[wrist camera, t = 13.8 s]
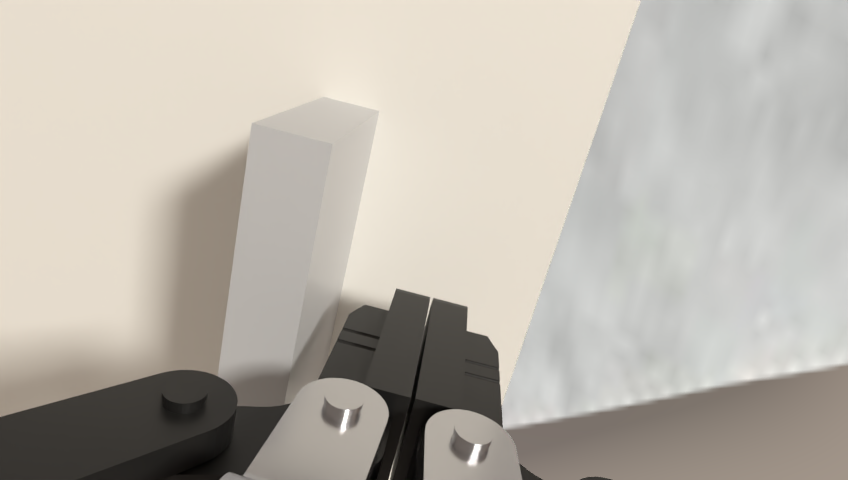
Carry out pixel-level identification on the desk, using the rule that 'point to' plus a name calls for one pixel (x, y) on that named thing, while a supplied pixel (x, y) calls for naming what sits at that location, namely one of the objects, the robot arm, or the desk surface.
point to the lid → (279, 177)
